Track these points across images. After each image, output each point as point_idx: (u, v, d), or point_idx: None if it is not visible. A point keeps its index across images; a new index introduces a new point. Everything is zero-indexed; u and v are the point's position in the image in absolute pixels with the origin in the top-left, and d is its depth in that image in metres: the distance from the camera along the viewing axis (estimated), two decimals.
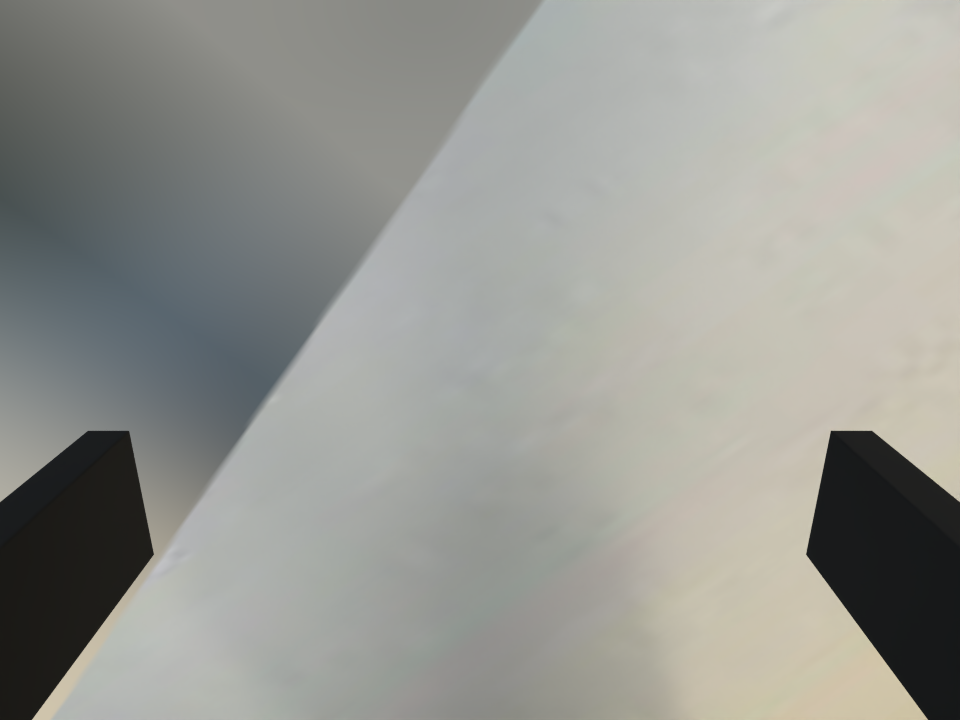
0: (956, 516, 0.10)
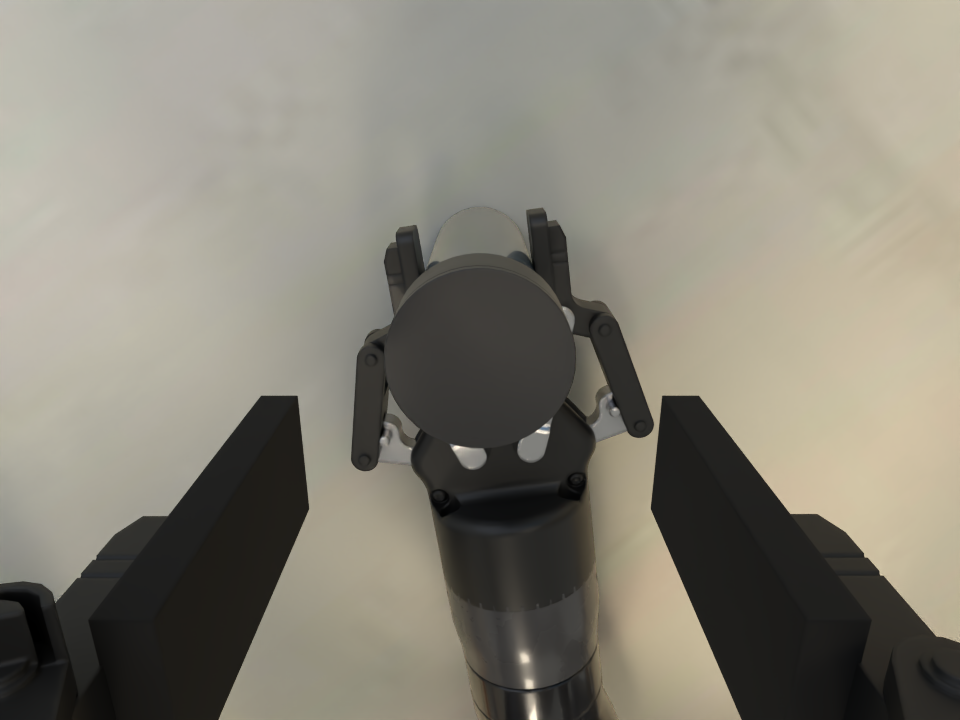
0: (732, 461, 0.11)
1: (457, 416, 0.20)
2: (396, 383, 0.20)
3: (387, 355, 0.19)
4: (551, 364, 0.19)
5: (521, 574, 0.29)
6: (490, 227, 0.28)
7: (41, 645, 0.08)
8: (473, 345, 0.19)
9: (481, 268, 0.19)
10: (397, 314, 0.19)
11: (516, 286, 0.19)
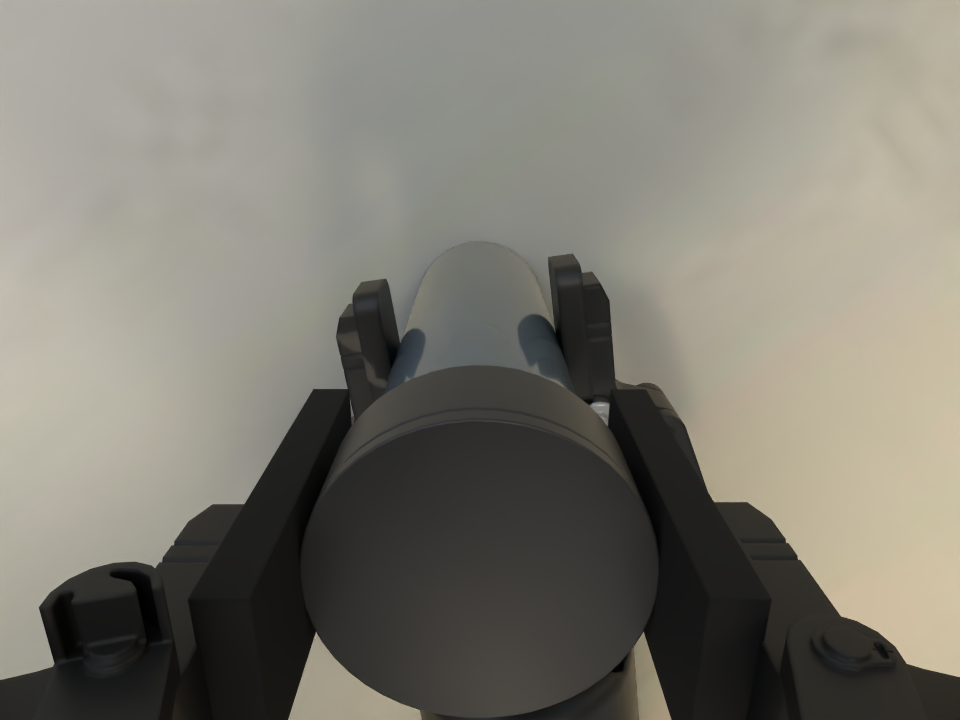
0: (666, 451, 0.12)
1: (438, 668, 0.11)
2: (324, 616, 0.11)
3: (305, 570, 0.10)
4: (613, 586, 0.10)
5: None
6: (495, 282, 0.19)
7: (150, 624, 0.08)
8: (467, 553, 0.10)
9: (483, 418, 0.09)
10: (321, 500, 0.10)
11: (550, 451, 0.10)
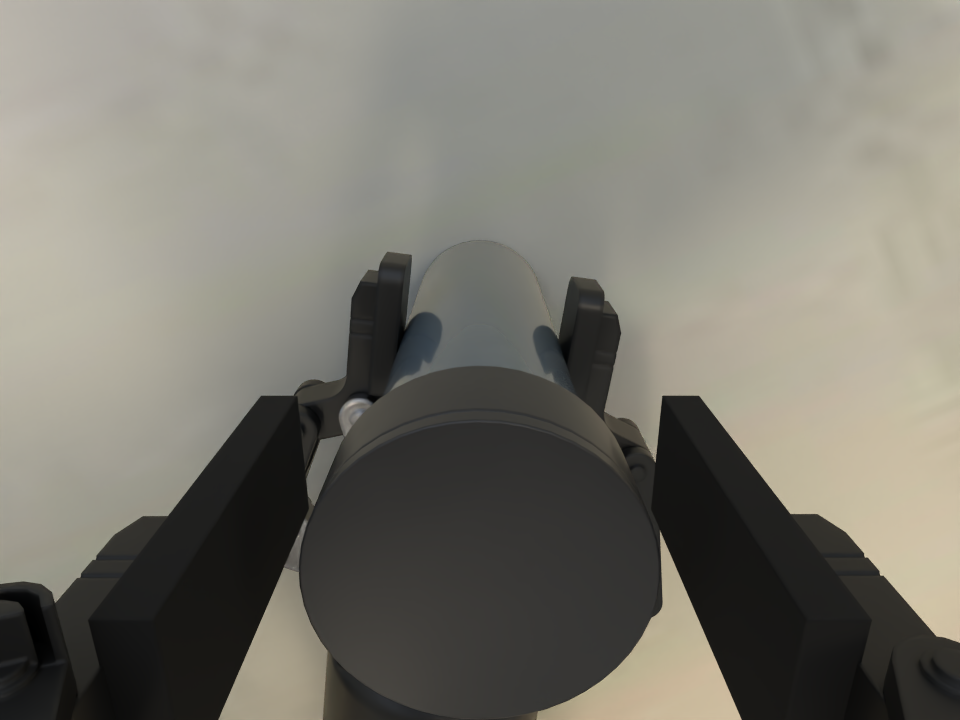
0: (732, 461, 0.11)
1: (570, 641, 0.11)
2: (476, 708, 0.11)
3: (422, 707, 0.11)
4: (522, 471, 0.10)
5: None
6: (515, 287, 0.19)
7: (41, 646, 0.08)
8: (442, 585, 0.10)
9: (303, 536, 0.10)
10: (354, 676, 0.11)
11: (349, 493, 0.10)
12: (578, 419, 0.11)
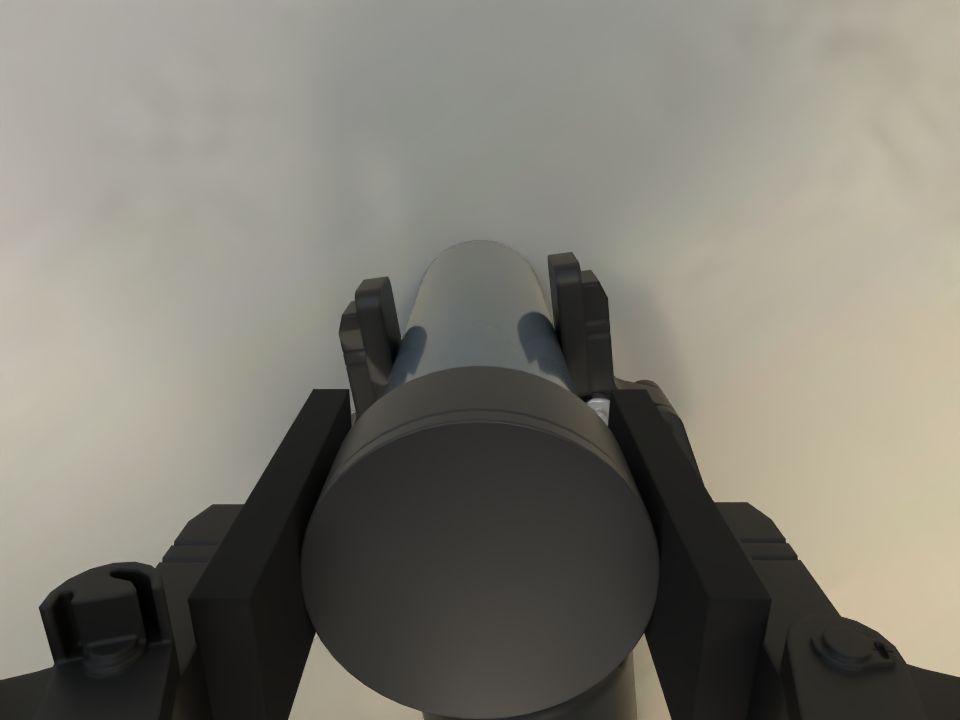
0: (666, 451, 0.12)
1: (587, 619, 0.11)
2: (516, 705, 0.11)
3: (464, 714, 0.11)
4: (484, 465, 0.10)
5: None
6: (495, 280, 0.19)
7: (148, 624, 0.08)
8: (445, 593, 0.10)
9: None
10: (390, 698, 0.11)
11: (328, 526, 0.10)
12: (536, 400, 0.10)
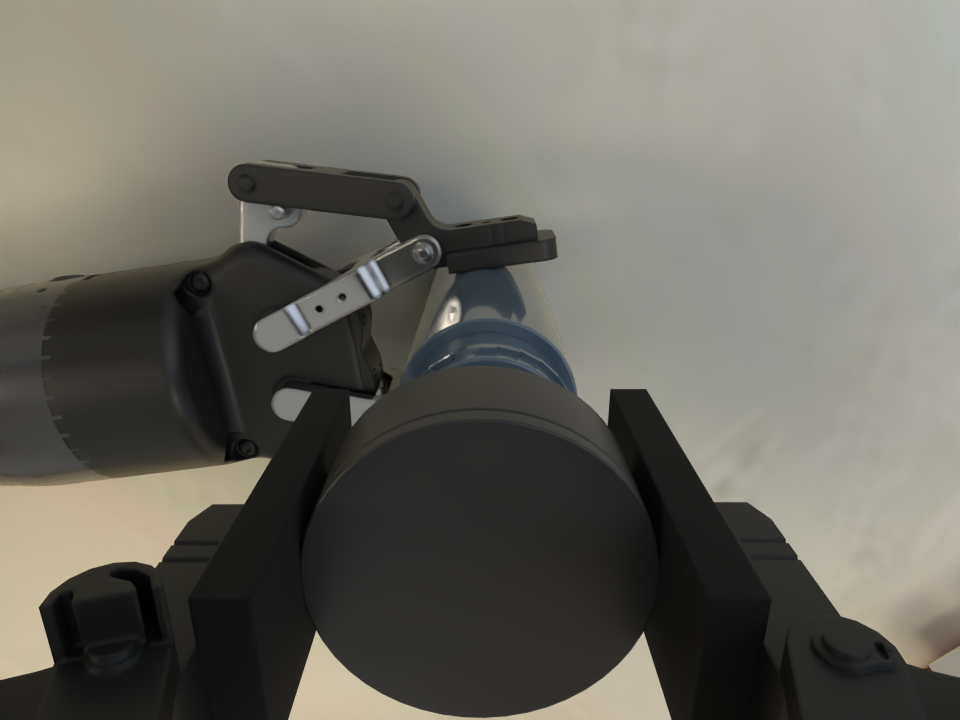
0: (666, 451, 0.12)
1: (587, 618, 0.11)
2: (516, 703, 0.11)
3: (464, 713, 0.11)
4: (485, 465, 0.10)
5: (113, 414, 0.21)
6: None
7: (148, 624, 0.08)
8: (445, 592, 0.10)
9: None
10: (391, 696, 0.11)
11: (328, 525, 0.10)
12: (536, 399, 0.10)
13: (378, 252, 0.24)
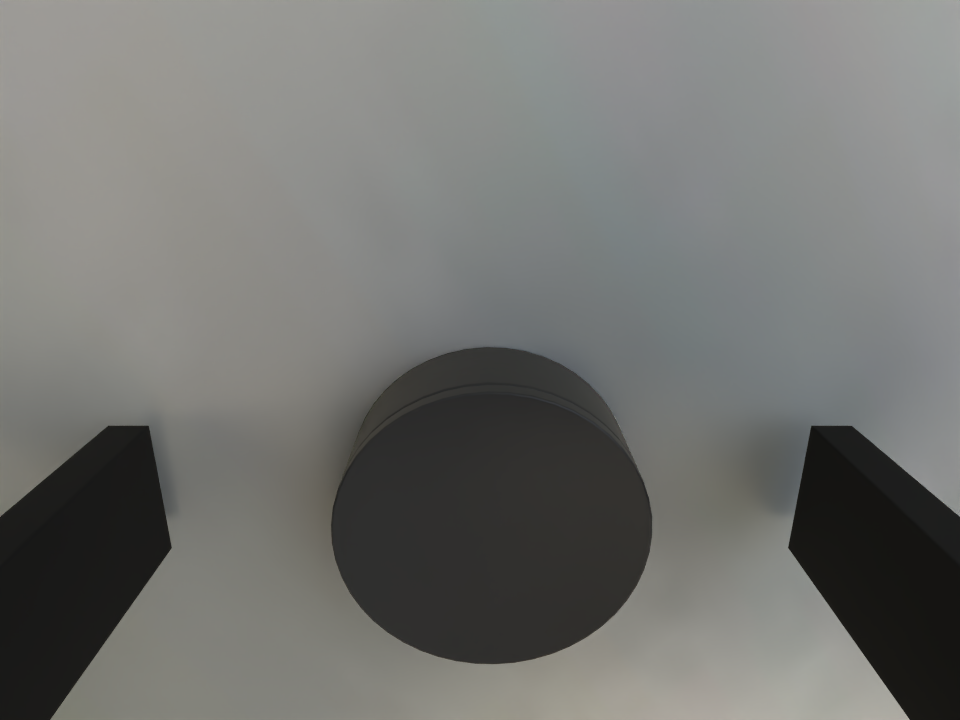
0: (928, 508, 0.10)
1: (587, 572, 0.12)
2: (524, 650, 0.13)
3: (477, 659, 0.13)
4: (497, 433, 0.11)
5: None
6: None
7: None
8: (460, 548, 0.12)
9: None
10: (411, 645, 0.12)
11: (357, 487, 0.11)
12: (541, 376, 0.12)
13: None
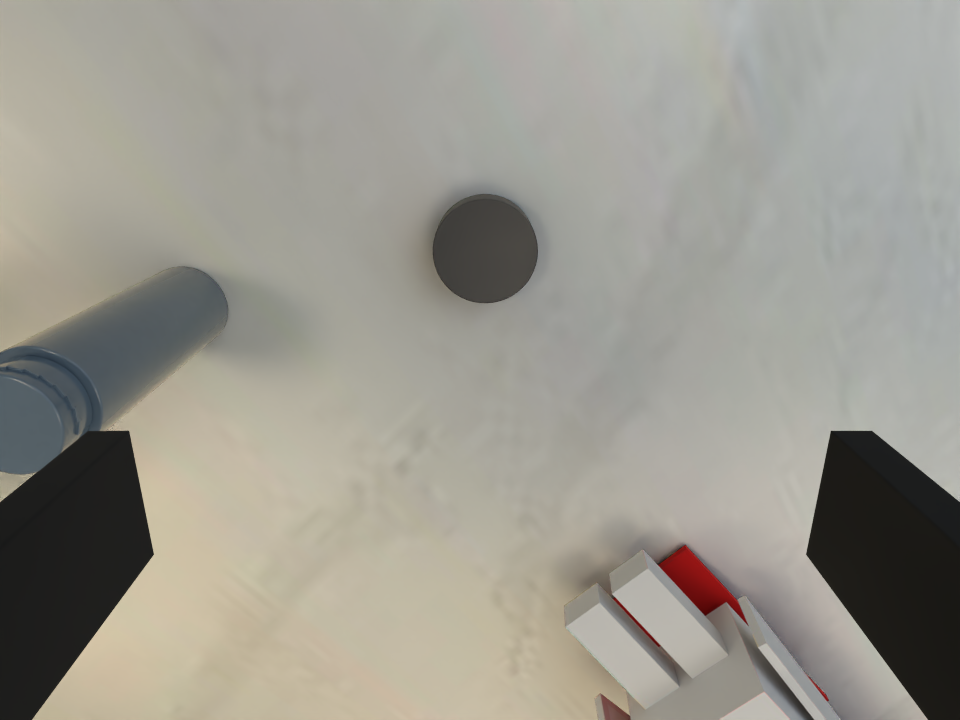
0: (956, 516, 0.10)
1: (517, 265, 0.36)
2: (496, 297, 0.36)
3: (480, 301, 0.37)
4: (486, 213, 0.35)
5: None
6: (183, 348, 0.33)
7: None
8: (475, 255, 0.36)
9: None
10: (457, 294, 0.36)
11: (442, 232, 0.35)
12: (501, 199, 0.36)
13: None
